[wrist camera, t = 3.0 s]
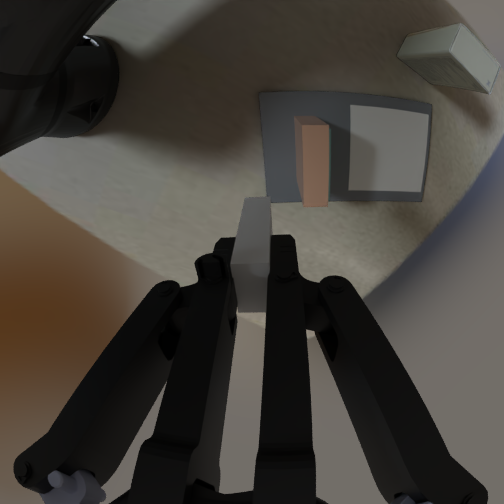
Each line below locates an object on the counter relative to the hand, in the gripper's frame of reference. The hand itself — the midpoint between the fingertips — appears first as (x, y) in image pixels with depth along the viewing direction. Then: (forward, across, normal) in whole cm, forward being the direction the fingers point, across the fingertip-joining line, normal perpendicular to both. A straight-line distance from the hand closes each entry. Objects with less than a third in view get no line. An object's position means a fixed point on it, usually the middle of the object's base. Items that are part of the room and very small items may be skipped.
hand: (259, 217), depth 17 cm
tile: (+17, +5, 0) cm, 18 cm away
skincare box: (+18, +20, +13) cm, 30 cm away
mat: (+18, +11, 0) cm, 21 cm away
